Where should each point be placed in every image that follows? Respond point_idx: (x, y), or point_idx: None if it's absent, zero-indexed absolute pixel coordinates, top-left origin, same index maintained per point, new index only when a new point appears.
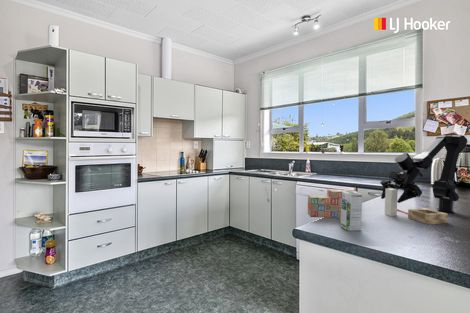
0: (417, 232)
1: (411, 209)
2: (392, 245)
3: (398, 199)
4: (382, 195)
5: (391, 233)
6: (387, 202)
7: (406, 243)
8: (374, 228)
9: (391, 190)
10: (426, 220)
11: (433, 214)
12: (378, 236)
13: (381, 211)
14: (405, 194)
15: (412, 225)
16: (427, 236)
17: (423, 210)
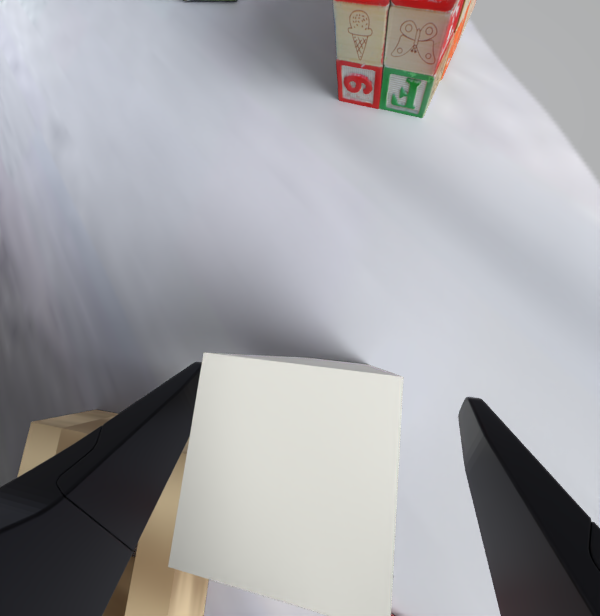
0: (68, 209)
1: (179, 482)
2: (52, 18)
3: (185, 379)
4: (487, 427)
5: (111, 95)
6: (337, 362)
7: (38, 70)
8: (179, 72)
9: (217, 355)
10: (95, 415)
11: (24, 470)
12: (115, 27)
13: (458, 433)
14: (53, 464)
15: (129, 290)
16: (30, 202)
17: (134, 589)
